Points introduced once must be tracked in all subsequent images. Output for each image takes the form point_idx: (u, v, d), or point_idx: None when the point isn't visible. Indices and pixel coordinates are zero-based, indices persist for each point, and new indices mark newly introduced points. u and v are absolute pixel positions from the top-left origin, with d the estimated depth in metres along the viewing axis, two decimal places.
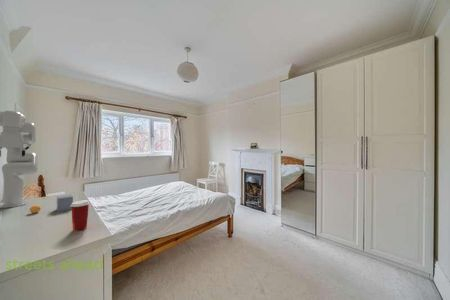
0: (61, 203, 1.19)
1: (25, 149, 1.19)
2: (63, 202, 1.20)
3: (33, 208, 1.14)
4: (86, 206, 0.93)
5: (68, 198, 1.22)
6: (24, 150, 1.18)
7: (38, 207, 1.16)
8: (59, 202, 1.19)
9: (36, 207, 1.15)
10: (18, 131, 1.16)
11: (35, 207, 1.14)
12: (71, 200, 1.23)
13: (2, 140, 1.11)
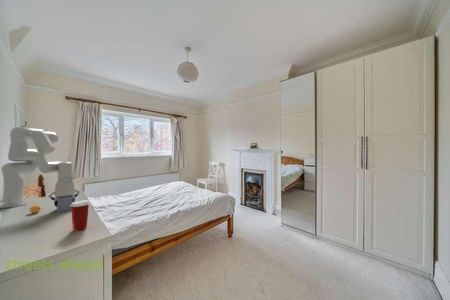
0: (61, 203, 1.19)
1: None
2: (63, 202, 1.20)
3: (33, 208, 1.14)
4: (86, 206, 0.93)
5: (68, 198, 1.22)
6: (74, 198, 1.26)
7: (38, 207, 1.16)
8: (59, 202, 1.19)
9: (36, 207, 1.15)
10: (70, 180, 1.24)
11: (35, 207, 1.14)
12: (71, 200, 1.23)
13: (57, 191, 1.19)
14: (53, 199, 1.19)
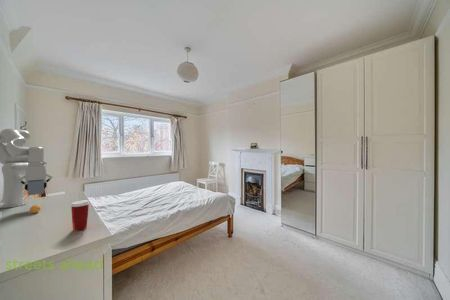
0: (31, 187, 1.20)
1: (46, 181, 1.27)
2: (33, 186, 1.21)
3: (33, 208, 1.14)
4: (86, 206, 0.93)
5: (39, 182, 1.23)
6: (45, 182, 1.27)
7: (38, 207, 1.16)
8: (29, 186, 1.20)
9: (36, 207, 1.15)
10: (42, 165, 1.25)
11: (35, 207, 1.14)
12: (42, 184, 1.24)
13: (28, 175, 1.20)
14: (23, 183, 1.20)
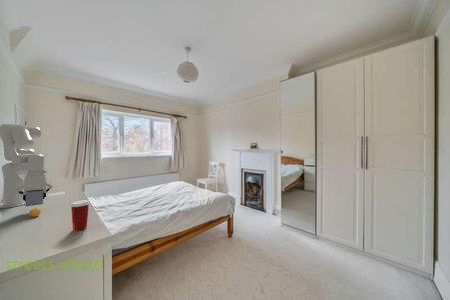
0: (30, 197, 1.13)
1: (46, 191, 1.20)
2: (32, 196, 1.14)
3: None
4: (86, 206, 0.93)
5: (38, 192, 1.15)
6: (45, 192, 1.19)
7: None
8: (27, 196, 1.12)
9: None
10: (41, 174, 1.17)
11: None
12: (41, 195, 1.17)
13: (26, 185, 1.13)
14: (21, 193, 1.12)
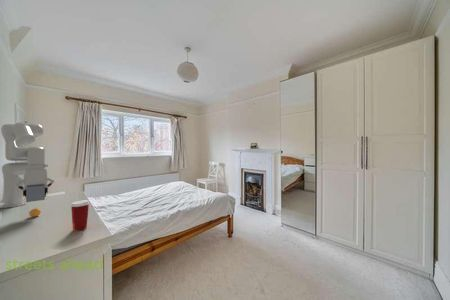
0: (30, 192, 1.06)
1: (48, 186, 1.13)
2: (33, 191, 1.06)
3: None
4: (86, 206, 0.93)
5: (39, 187, 1.08)
6: (47, 187, 1.12)
7: None
8: (28, 191, 1.05)
9: None
10: (42, 167, 1.10)
11: None
12: (43, 189, 1.09)
13: (26, 179, 1.06)
14: (21, 188, 1.05)
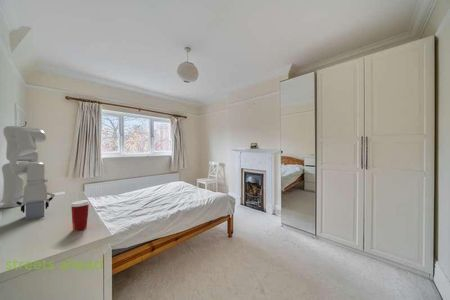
0: (30, 210, 1.06)
1: None
2: (32, 208, 1.06)
3: None
4: (86, 206, 0.93)
5: (39, 204, 1.08)
6: (48, 202, 1.13)
7: None
8: (28, 209, 1.05)
9: None
10: (42, 183, 1.10)
11: None
12: (42, 206, 1.09)
13: (26, 195, 1.06)
14: (19, 204, 1.05)
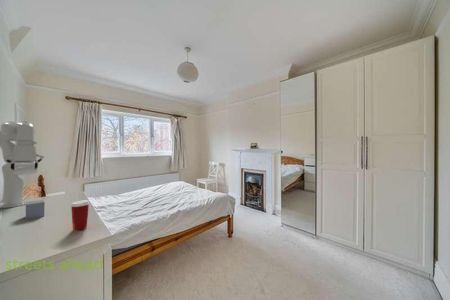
0: (30, 210, 1.06)
1: None
2: (32, 208, 1.06)
3: None
4: (86, 206, 0.93)
5: (39, 204, 1.08)
6: (37, 163, 1.20)
7: None
8: (28, 209, 1.05)
9: None
10: (31, 144, 1.17)
11: None
12: (42, 206, 1.09)
13: (16, 154, 1.12)
14: (9, 162, 1.11)
